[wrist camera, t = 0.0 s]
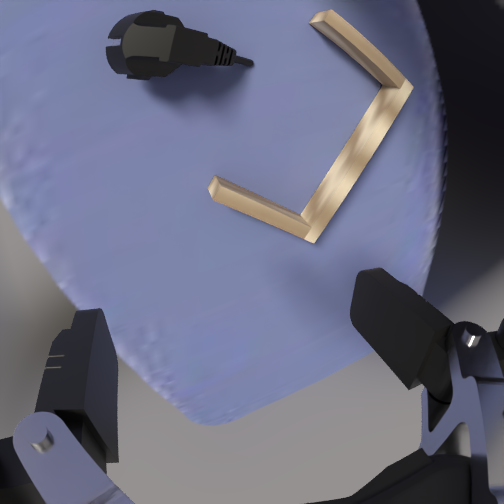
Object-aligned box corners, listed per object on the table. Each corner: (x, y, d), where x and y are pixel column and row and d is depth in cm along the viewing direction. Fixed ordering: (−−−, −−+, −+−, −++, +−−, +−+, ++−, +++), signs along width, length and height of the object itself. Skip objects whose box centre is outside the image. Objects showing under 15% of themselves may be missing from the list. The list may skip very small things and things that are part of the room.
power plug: (250, 93, 26) (132, 80, 16) (193, 82, 29) (86, 77, 20) (264, 35, 23) (150, -2, 14) (204, 33, 26) (99, 13, 17)
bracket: (316, 12, 23) (331, 9, 21) (396, 83, 29) (413, 87, 27) (207, 188, 30) (213, 200, 28) (302, 230, 37) (314, 243, 34)
